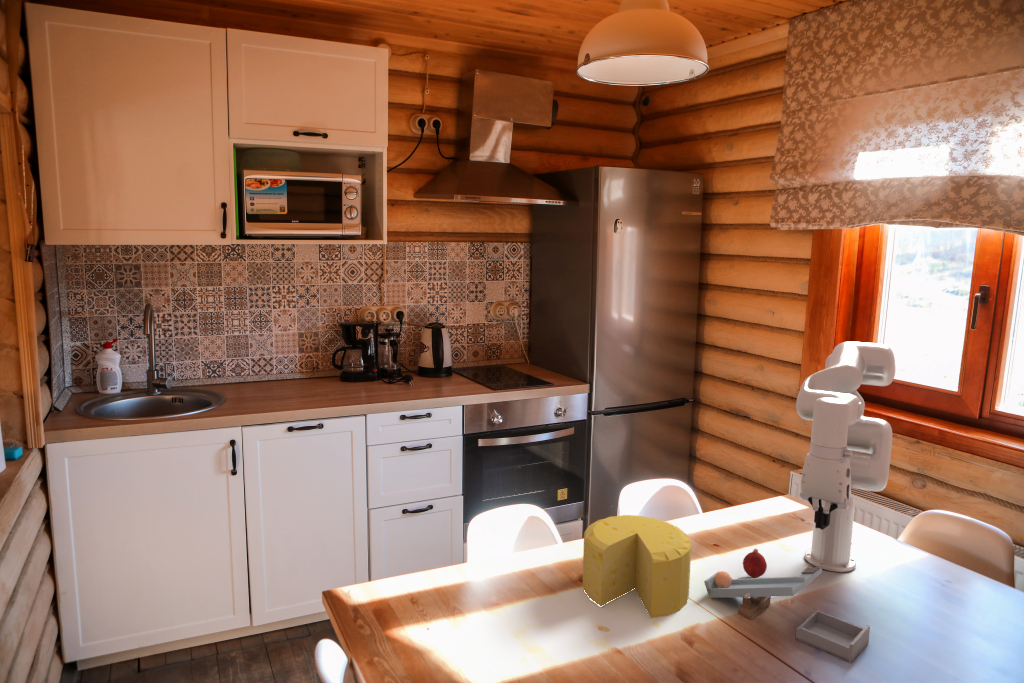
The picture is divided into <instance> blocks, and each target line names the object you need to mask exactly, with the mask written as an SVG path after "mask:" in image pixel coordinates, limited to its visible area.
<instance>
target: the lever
mask: <svg viewBox="0 0 1024 683" xmlns="http://www.w3.org/2000/svg"><path fill="white" fill-rule="evenodd" d="M718 572H719V571H717V572H716V573H714V574H713V575H711V576H709V577H708V578H707V579H705V580H703V582H704V586H705V589H706V593H707V596H708V598H711V599H712V598H714V599H715V598H743V597H744V598H745V599H747V598H750V597H771V598H772V597H795V596H796V595H797V594H798V593H800V591H802V590H803V589H804V588H805V587H806V586H808V585H809V584H810V583H811V582H813V581H814V580H815V579H816V578H817V577H818V576H819V575H821V574H822V573H823V569H822V568H819V567H816V566H814V567H813V566H812V567H807V568H806V569H804V570H803V571H801V574H800V575H799V576H779V577H776V576H775V577H758V578H752V577H751V578H731V580H732V582H731V585H730V586H729V587H728V588H720V587H718V586H717V585H716V583H715V575H716V574H717V573H718Z"/></svg>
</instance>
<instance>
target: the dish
mask: <svg viewBox="0 0 1024 683" xmlns="http://www.w3.org/2000/svg"><path fill="white" fill-rule="evenodd" d="M870 629H871V625H868V624H866V625H865V627H862V626H860V625H856V624H855V623H853V622H850V621H847V620H844V619H842V618H839V617H837V616H834V615H831V614H829V613H826V612H824V611H821V610H817V611H814V612H812V614H811V615H810V616H808V617H807V618H806V619H805V620H804V621H803V622H802V623H801V624H800V625H799V626H797V627H796V630H795V640H796V641H799V642H801V643H804V644H805V645H808V646H810V647H813V648H815V649H818V650H820V651H822V652H824V653H826V654H829V655H832V656H834V657H836V658H839V659H841V660H843V661H845V662H848V663H850V664H852V663H853V662H854V661H855V659H856V658H857V657H858V656H859V654H860V653H861V652H863V650H864V649H865V647H867V645H868V644H869V641H870Z"/></svg>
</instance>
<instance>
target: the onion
mask: <svg viewBox="0 0 1024 683" xmlns="http://www.w3.org/2000/svg"><path fill="white" fill-rule="evenodd" d="M767 564H768V563H767V561H766V559H765V557H764V556H763V555H762V554H761V553H760V552H759V550H758V549H757V548H754V549H753V550H752V551H751V552H749V553H747V554H746V555H745V556H744V558H743V560H742V568H743V570H744V572H745V573H746V574H747V575H748V576H749V577H751V578H761V577H762V576H764V574H765V573H766V571H767V568H768V565H767Z"/></svg>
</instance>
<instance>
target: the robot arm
mask: <svg viewBox="0 0 1024 683" xmlns="http://www.w3.org/2000/svg"><path fill="white" fill-rule="evenodd" d="M895 376H896V360H895V355H894V352H893V349H892V348H890V346H888V345H886V344H883V343H877V342H876V343H874V342H861V341H843V342H841V343H838V344H837V345H836V346H835V347H834V348H833V350H832V353H830V354H829V355H828V356H827V357H826V360H825V366H824V369H821V370H819V371H816V372H814V373H812V374H810V375H809V376H807V377H806V378H805V379H804V380H803V382H802V383H801V385H800V389H799V391H798V394H797V398H796V402H795V408H796V413H797V415H798V416H799V417H800V418H801V419H803V420H805V421H812V423H811V424H812V425H811V434H810V435H811V437H810V444H809V445H810V446H809V452H808V453H806V455H805V459H804V462H803V463H804V464H803V467H802V472H801V477H800V486H799V489H800V493H799V497H800V498H802V499H803V500H806V501H808V502H809V504H810V506H811V507H812V509H813V511H814V513H813V514H814V515H813V525H812V526H813V527H812V528H813V530H812V539H811V547H810V548H808V549H806V550H805V553H804V558H805V560H806V561H807V562H808V563H809V564H811V565H812V566H814V567H819V568H822V570H825V571H829V572H837V573H844V572H850V571H853V570H854V569H855V568H856V564H857V562H856V560H855V558H854V557H853V556H852V555H851V550H852V548H851V547H852V538H853V527H854V526H853V525H854V516H855V514H854V513H855V501H854V498H853V496H852V488H853V489H858V490H863V491H869V492H875V493H876V492H882V491H883V490H884V489H885V488H886V487H887V485H888V481H889V474H890V466H891V465H890V464H891V456H892V450H893V449H892V447H893V446H892V445H893V428H892V426H891V424H890V423H889V422H888V421H887V420H884V419H882V418H877V417H871V416H870V417H869V416H864V412H865V408H866V404H865V401H864V398H863V397H862V395H861V394H860V393H859V392H858V389H859V388H860V386H861V385H867V386H877V387H887V386H889V385H891V384H892V382H893V381H894V379H895Z"/></svg>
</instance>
